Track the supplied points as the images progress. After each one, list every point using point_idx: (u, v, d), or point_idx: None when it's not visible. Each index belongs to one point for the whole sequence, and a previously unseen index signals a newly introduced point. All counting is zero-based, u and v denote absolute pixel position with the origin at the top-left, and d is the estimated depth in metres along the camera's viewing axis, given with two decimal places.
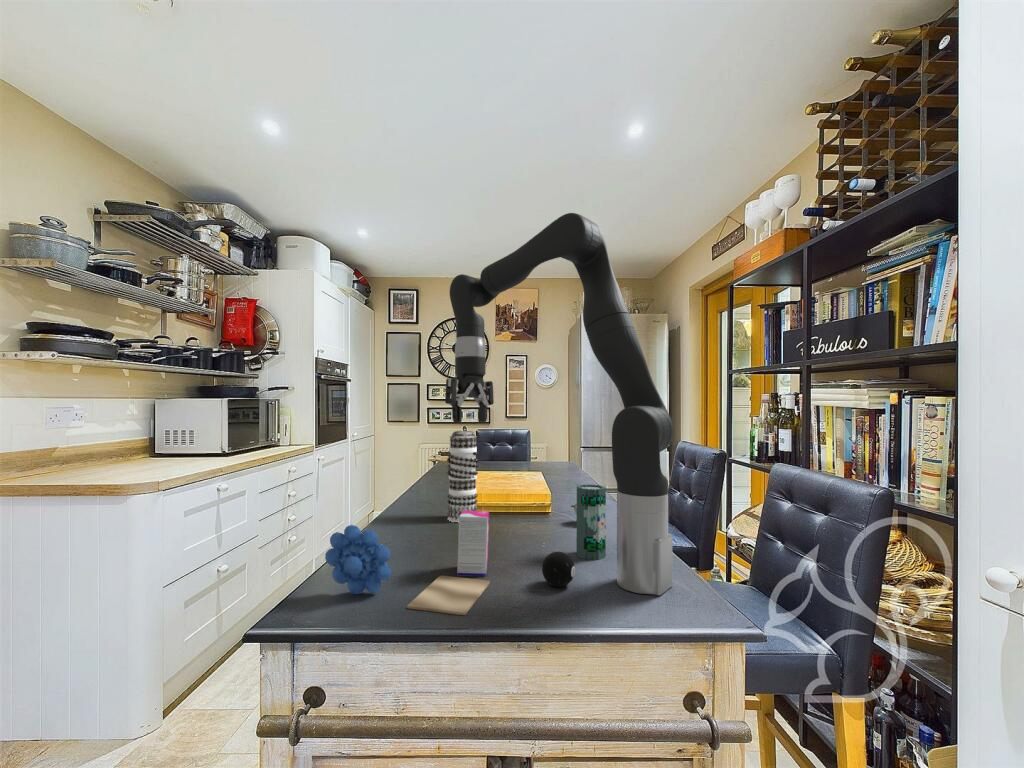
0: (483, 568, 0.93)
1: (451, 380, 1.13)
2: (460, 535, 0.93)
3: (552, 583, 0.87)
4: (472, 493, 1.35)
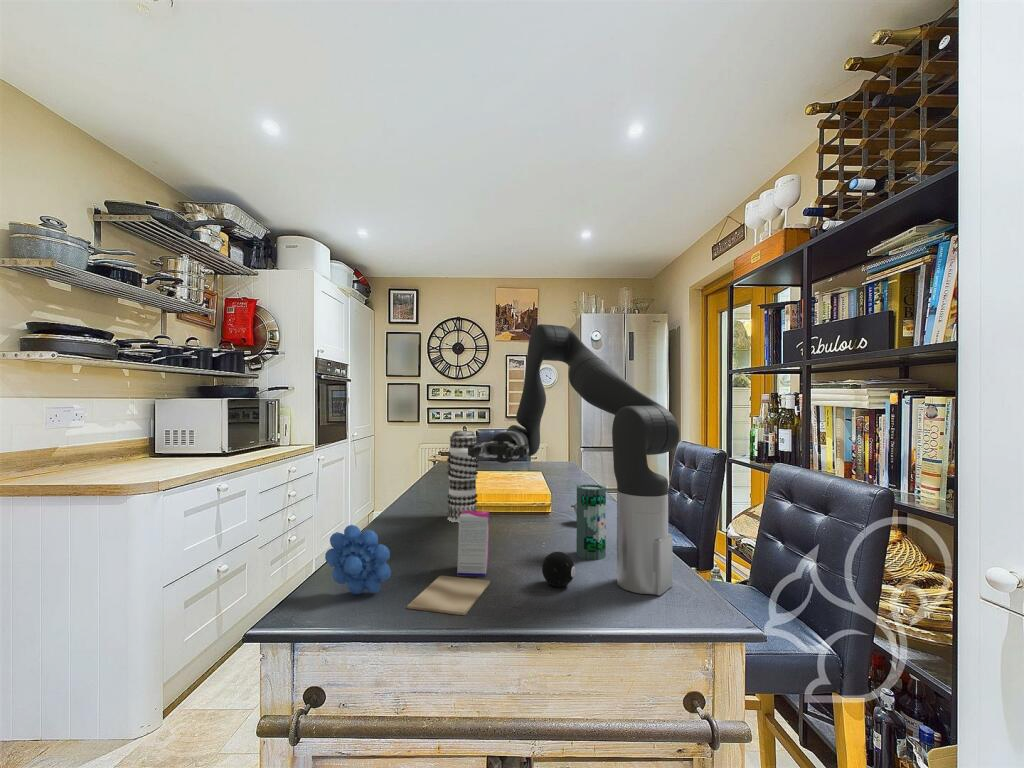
0: (483, 568, 0.93)
1: None
2: (460, 535, 0.93)
3: (552, 583, 0.87)
4: (472, 493, 1.35)
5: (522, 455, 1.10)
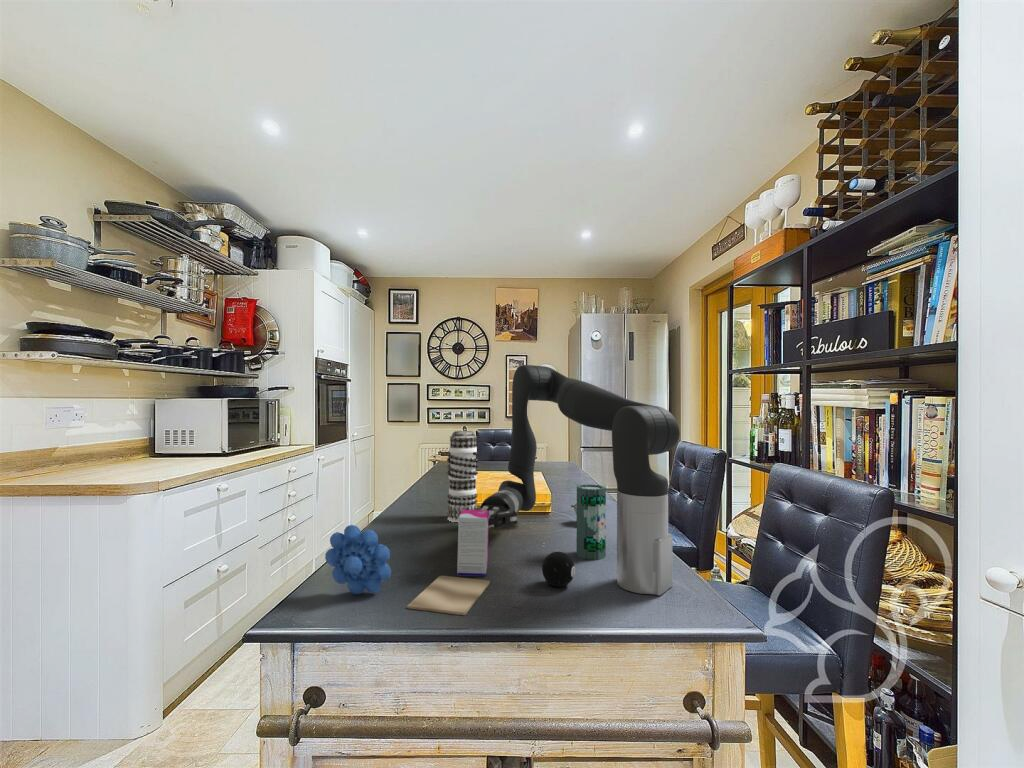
0: (483, 568, 0.93)
1: None
2: (460, 536, 0.93)
3: (552, 583, 0.87)
4: (472, 493, 1.35)
5: (495, 524, 1.02)
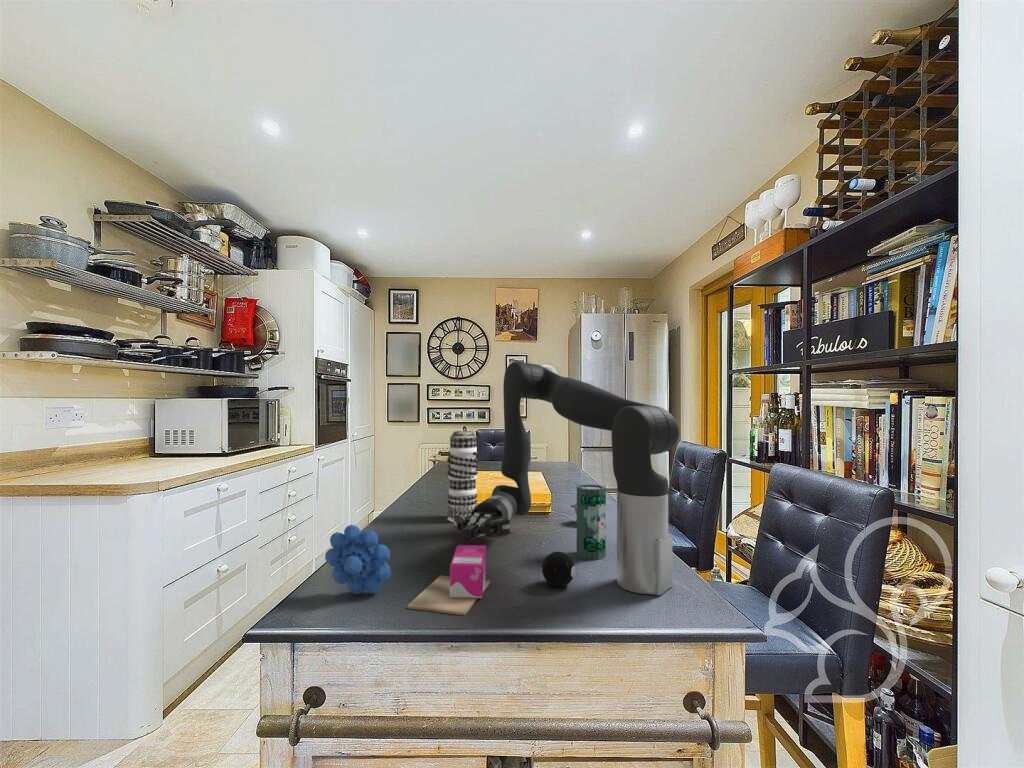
0: None
1: (454, 519, 1.02)
2: None
3: (552, 583, 0.87)
4: (472, 493, 1.35)
5: (486, 533, 0.96)
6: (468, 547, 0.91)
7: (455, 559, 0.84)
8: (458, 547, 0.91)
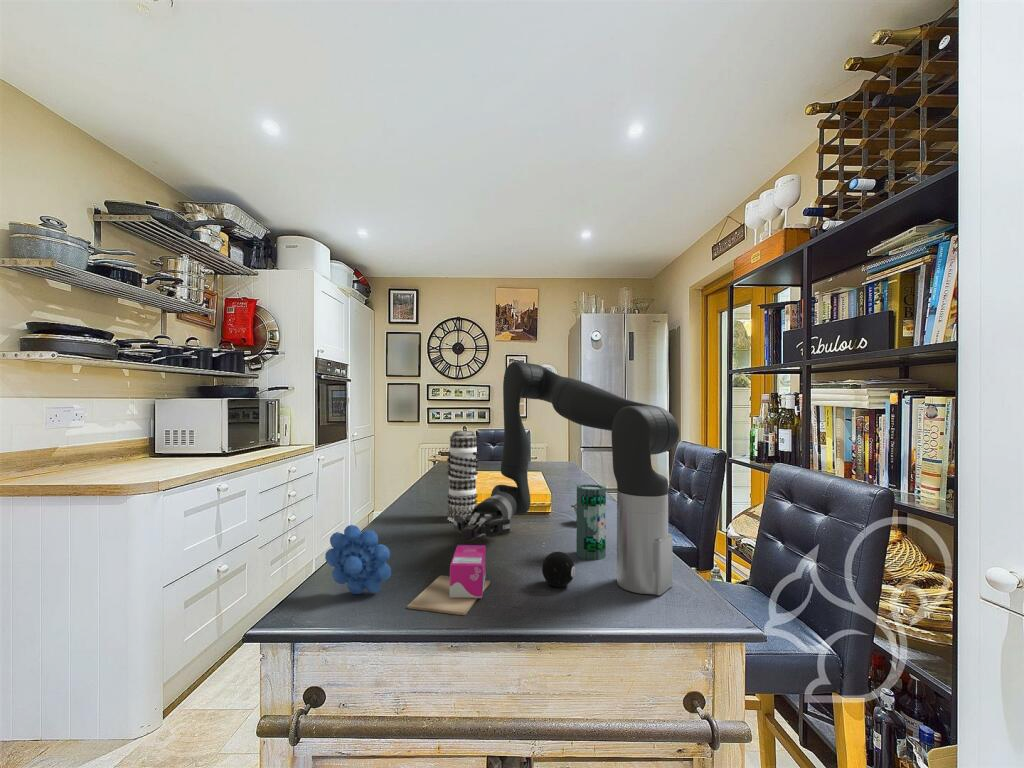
0: None
1: (454, 519, 1.03)
2: None
3: (552, 583, 0.87)
4: (472, 493, 1.35)
5: (487, 533, 0.97)
6: (468, 547, 0.91)
7: (455, 559, 0.84)
8: (458, 547, 0.91)
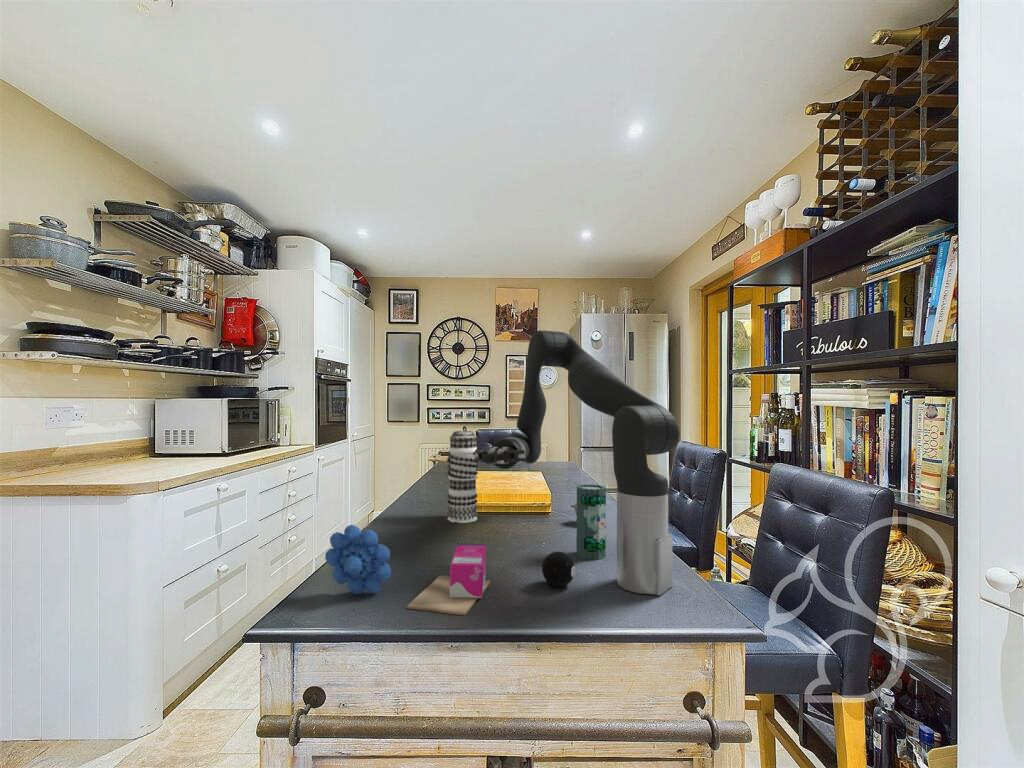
0: None
1: (475, 452, 1.16)
2: None
3: (552, 583, 0.87)
4: (472, 493, 1.35)
5: (505, 460, 1.10)
6: (468, 547, 0.91)
7: (455, 559, 0.84)
8: (458, 547, 0.91)
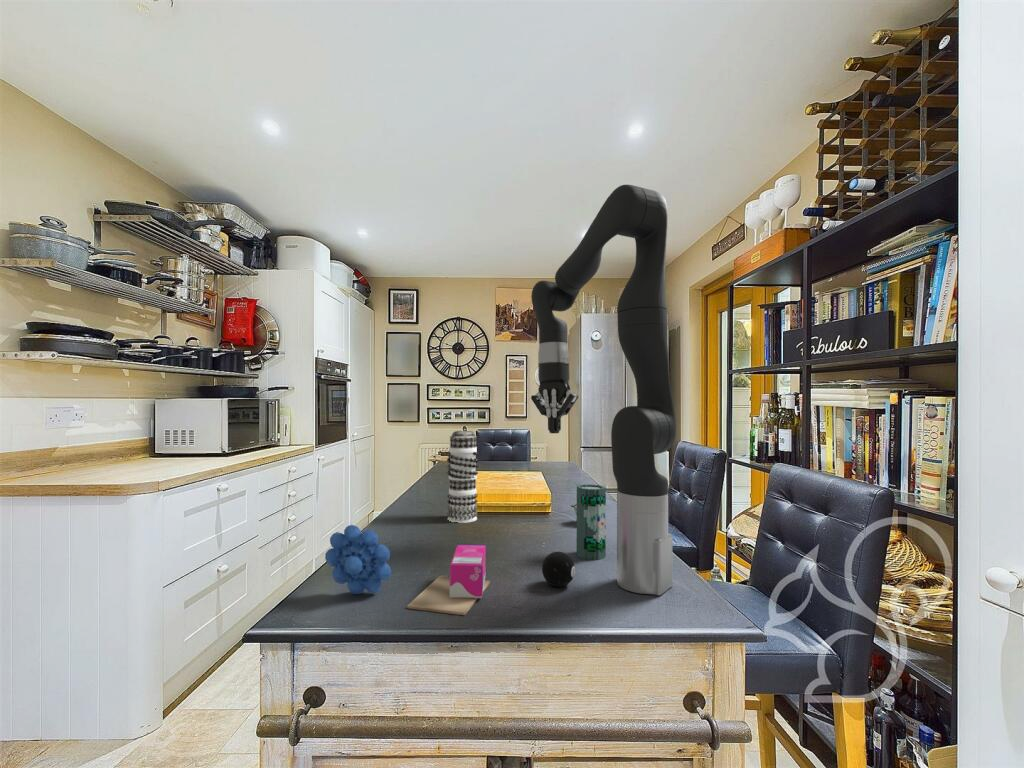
0: None
1: None
2: None
3: (552, 583, 0.87)
4: (472, 493, 1.35)
5: (564, 414, 1.16)
6: (468, 547, 0.91)
7: (455, 559, 0.84)
8: (458, 547, 0.91)
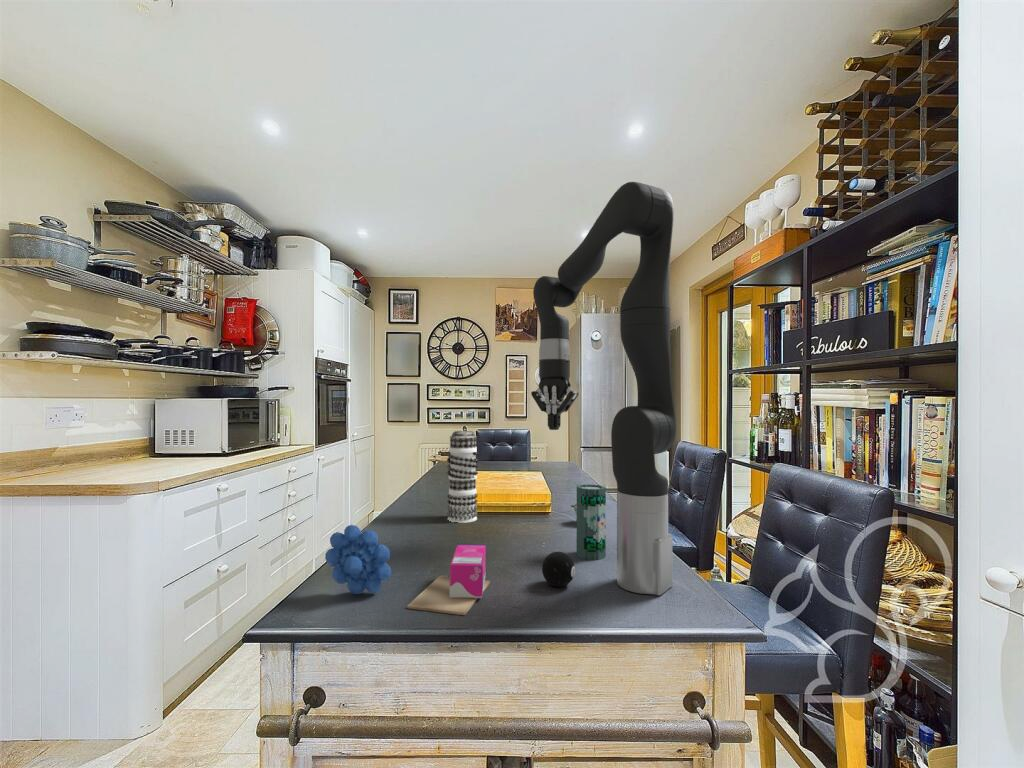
0: None
1: None
2: None
3: (552, 583, 0.87)
4: (472, 493, 1.35)
5: (564, 411, 1.16)
6: (468, 547, 0.91)
7: (455, 559, 0.84)
8: (458, 547, 0.91)
